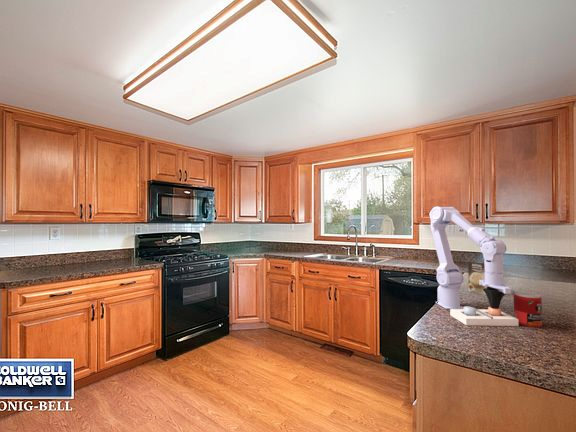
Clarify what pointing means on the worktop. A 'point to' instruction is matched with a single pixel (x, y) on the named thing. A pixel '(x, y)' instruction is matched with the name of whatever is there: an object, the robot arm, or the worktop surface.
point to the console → (484, 318)
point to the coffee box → (476, 276)
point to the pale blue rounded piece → (469, 311)
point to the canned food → (528, 308)
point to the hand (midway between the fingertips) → (494, 308)
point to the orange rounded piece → (494, 311)
